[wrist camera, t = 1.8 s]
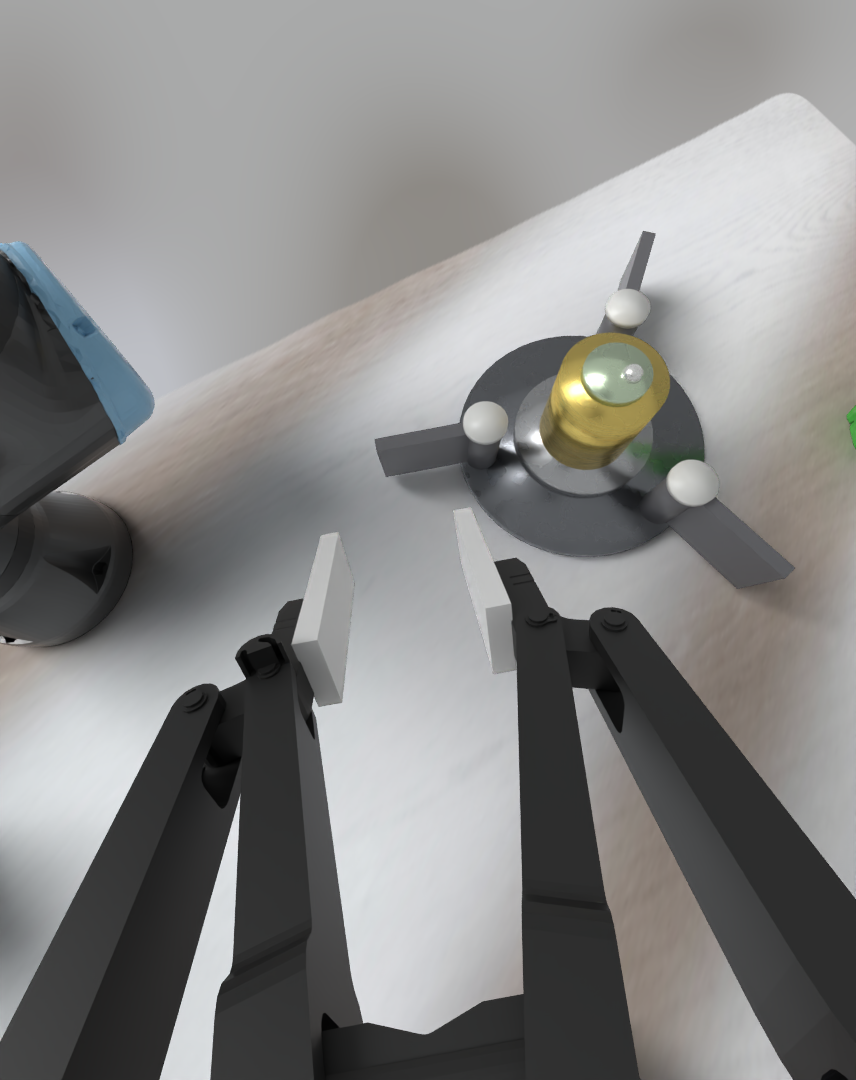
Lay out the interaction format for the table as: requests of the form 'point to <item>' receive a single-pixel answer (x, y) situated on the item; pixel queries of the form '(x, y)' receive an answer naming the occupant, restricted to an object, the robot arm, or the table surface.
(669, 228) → the table surface
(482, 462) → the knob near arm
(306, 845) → the robot arm
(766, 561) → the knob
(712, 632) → the table surface
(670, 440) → the tribrach
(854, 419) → the fruit basket
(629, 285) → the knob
